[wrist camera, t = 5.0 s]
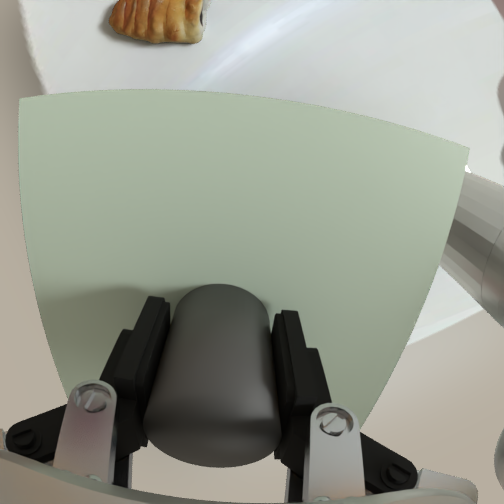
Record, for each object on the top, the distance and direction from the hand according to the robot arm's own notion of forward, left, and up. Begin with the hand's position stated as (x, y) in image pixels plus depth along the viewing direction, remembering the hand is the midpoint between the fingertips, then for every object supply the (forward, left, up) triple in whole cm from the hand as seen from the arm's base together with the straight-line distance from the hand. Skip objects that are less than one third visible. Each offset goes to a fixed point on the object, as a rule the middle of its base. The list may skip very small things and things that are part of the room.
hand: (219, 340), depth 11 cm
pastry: (+8, -17, -22) cm, 29 cm away
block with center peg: (0, 0, -8) cm, 8 cm away
